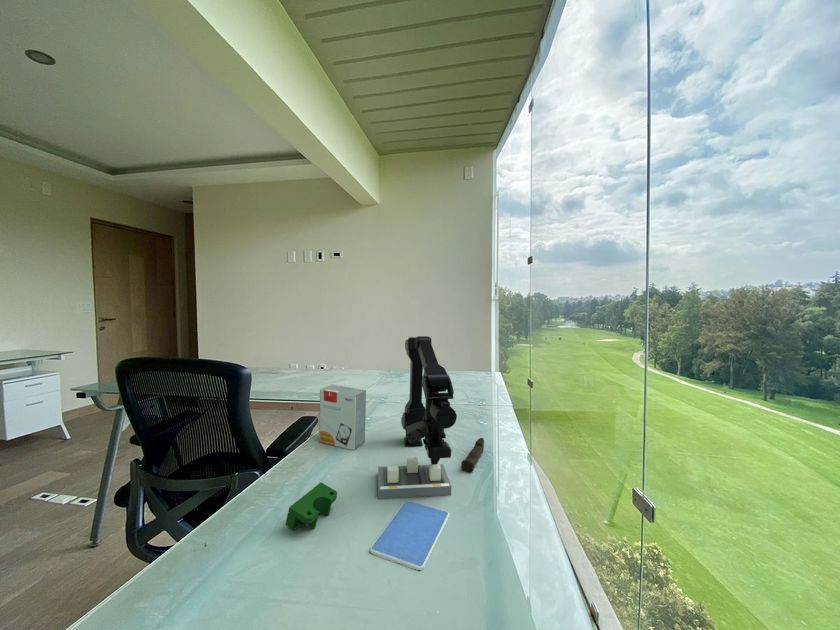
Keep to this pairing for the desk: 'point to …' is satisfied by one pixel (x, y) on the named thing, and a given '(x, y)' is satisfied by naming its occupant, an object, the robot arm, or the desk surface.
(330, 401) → the hard drive box
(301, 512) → the clamp
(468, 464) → the brown wooden log
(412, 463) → the tab
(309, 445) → the desk surface
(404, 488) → the switch panel
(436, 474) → the tab
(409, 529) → the tablet computer
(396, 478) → the tab
